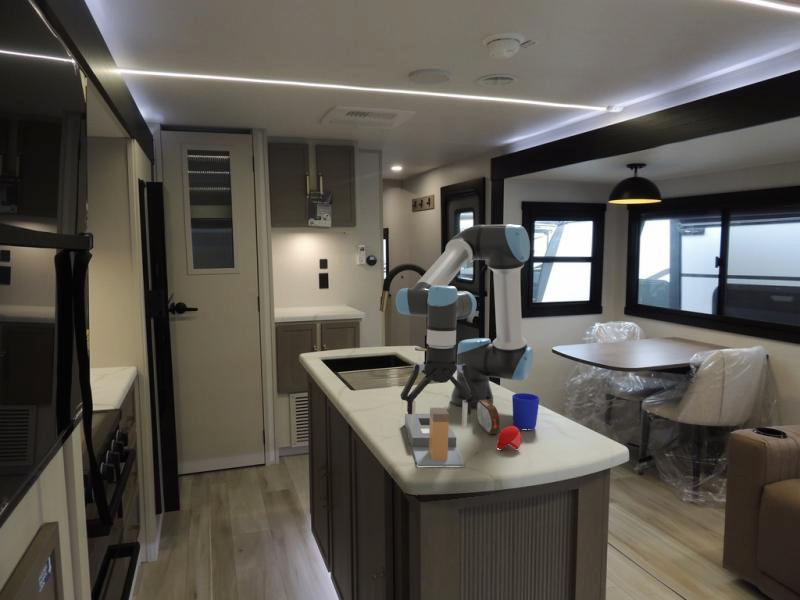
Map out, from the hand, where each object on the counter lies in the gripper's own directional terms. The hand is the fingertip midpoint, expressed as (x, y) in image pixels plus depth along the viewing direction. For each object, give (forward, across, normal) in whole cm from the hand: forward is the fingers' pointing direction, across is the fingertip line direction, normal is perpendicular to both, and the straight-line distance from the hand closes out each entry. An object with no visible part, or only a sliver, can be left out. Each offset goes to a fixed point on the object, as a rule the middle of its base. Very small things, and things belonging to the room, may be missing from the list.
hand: (438, 426), depth 141 cm
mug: (+9, -32, -26) cm, 42 cm away
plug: (+8, 0, 0) cm, 8 cm away
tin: (+9, -19, -23) cm, 31 cm away
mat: (+9, 0, 0) cm, 9 cm away
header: (+9, 0, -17) cm, 19 cm away
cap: (+9, -21, -7) cm, 24 cm away
